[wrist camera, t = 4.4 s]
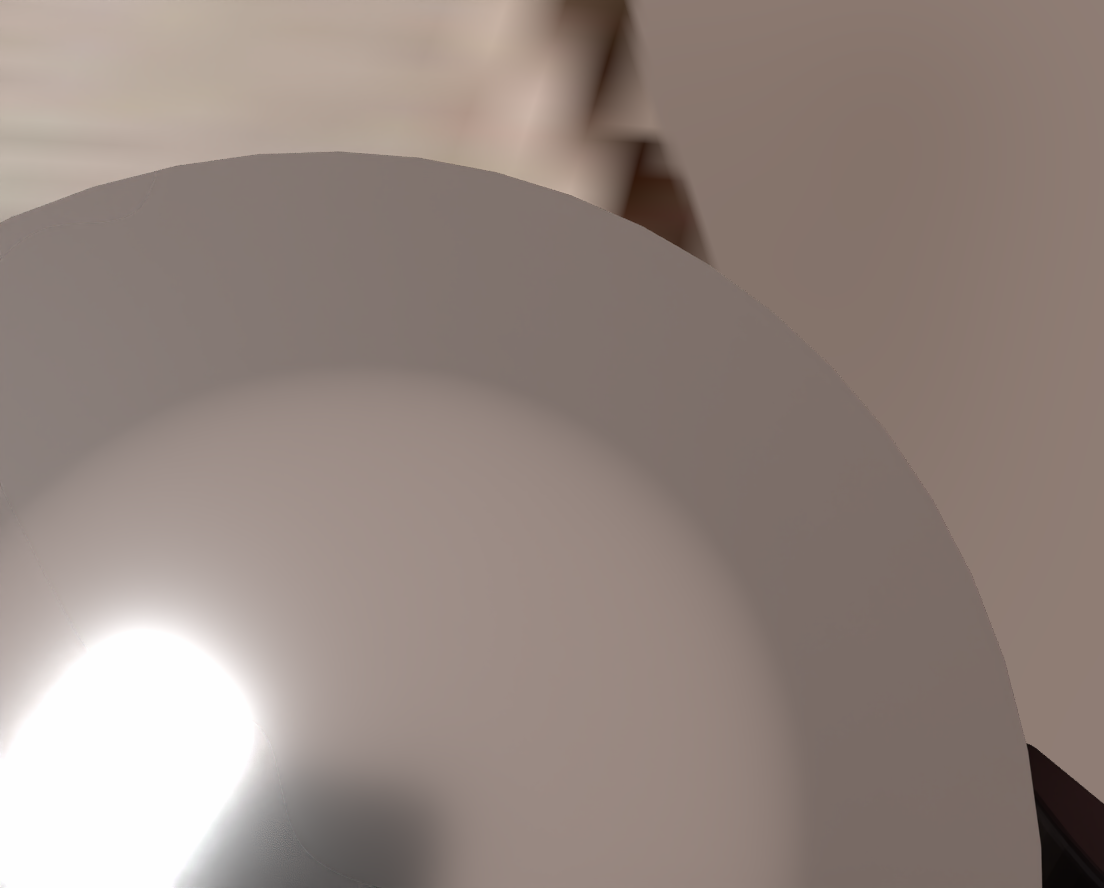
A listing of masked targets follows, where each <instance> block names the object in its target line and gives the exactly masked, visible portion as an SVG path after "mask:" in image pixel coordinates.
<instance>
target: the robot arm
mask: <svg viewBox="0 0 1104 888" xmlns="http://www.w3.org/2000/svg"><path fill="white" fill-rule="evenodd" d="M1026 745H1027V749H1028V755H1029V763H1030V770H1031V777H1032V784H1033V792H1034V799H1035V806H1036V813H1037V821H1038V828H1039V835H1040V842H1041V863H1042V888H1104V804H1103V803H1102V802H1101V801H1099V800H1098V799H1097V798H1096V797H1095V796H1094V795H1092V794H1091V793H1090V792H1088V791H1087V790H1086V789H1085V788H1084V787H1083V786H1081V785H1080V784H1079V783H1078V782H1077V781H1075V780H1074V779H1073V778H1072V777H1070V776H1069V775H1068V774H1067V773H1066V772H1064V771H1063V770H1062V769H1061V768H1060V767H1058V766H1057V765H1056V764H1054V763H1053V762H1052V761H1051V760H1050V759H1048V758H1047V757H1046V756H1045V755H1043V754H1042V753H1041V752H1040V751H1039V750H1038V749H1036V748H1035V747H1033V746H1032V745H1030V744H1027V743H1026Z"/></svg>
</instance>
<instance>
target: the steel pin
mask: <svg viewBox="0 0 1104 888" xmlns="http://www.w3.org/2000/svg"><path fill="white" fill-rule="evenodd" d="M0 888H1042V863H1041V842H1040V835H1039V828H1038V821H1037V813H1036V806H1035V799H1034V792H1033V784H1032V777H1031V770H1030V763H1029V755H1028V749H1027V745H1026V741H1025V738H1024V734H1023V730H1022V726H1021V722H1020V718H1019V714H1018V710H1017V707H1016V703H1015V699H1014V695H1013V691H1012V687H1011V683H1010V679H1009V675H1008V671H1007V667H1006V664H1005V660H1004V657H1003V655H1002V652H1001V649H1000V647H999V644H998V642H997V639H996V636H995V634H994V631H993V628H992V626H991V623H990V621H989V618H988V615H987V613H986V610H985V607H984V605H983V602H982V600H981V597H980V594H979V592H978V589H977V587H976V584H975V581H974V579H973V576H972V574H971V572H970V570H969V568H968V566H967V565H966V563H965V561H964V559H963V557H962V555H961V553H960V551H959V549H958V547H957V545H956V543H955V542H954V540H953V538H952V536H951V534H950V532H949V530H948V528H947V526H946V524H945V522H944V520H943V518H942V516H941V514H940V513H939V511H938V509H937V507H936V505H935V503H934V501H933V499H932V498H931V496H930V495H929V493H928V492H927V490H926V489H925V487H924V486H923V484H922V483H921V481H920V480H919V478H918V477H917V475H916V474H915V472H914V471H913V469H912V468H911V467H910V465H909V463H908V462H907V460H906V459H905V458H904V456H903V455H902V453H901V452H900V450H899V449H898V447H897V446H896V444H895V443H894V441H893V440H892V438H891V437H890V435H889V434H888V432H887V431H886V429H885V428H884V427H883V426H882V425H881V424H880V422H879V421H878V420H877V419H876V418H875V416H874V415H872V413H871V412H870V411H869V409H868V408H867V407H866V406H865V405H864V404H863V402H862V401H861V400H860V399H859V398H858V397H857V395H856V394H855V393H854V392H853V391H852V390H851V389H850V387H849V386H848V385H847V384H846V383H845V381H844V380H843V379H842V378H841V377H840V375H839V374H838V373H837V372H836V371H835V370H834V368H833V367H832V366H831V365H830V364H829V363H827V362H826V361H825V360H824V359H823V358H822V357H821V356H820V355H819V354H818V353H817V352H815V350H813V349H812V348H811V347H810V346H809V345H808V344H807V343H806V342H805V341H804V340H803V339H802V338H800V336H798V335H797V334H796V333H795V332H794V331H793V330H792V329H791V328H790V327H789V326H788V325H787V324H785V323H784V322H783V321H782V320H781V319H780V318H779V317H778V316H777V315H776V314H775V313H774V312H772V311H771V310H769V309H768V308H767V307H766V306H764V305H763V304H761V303H760V302H759V301H758V300H756V299H755V298H754V297H752V296H751V295H749V294H748V293H747V292H745V291H744V290H743V289H741V288H740V287H739V286H737V285H736V284H734V283H733V282H732V281H730V280H729V279H728V278H726V277H725V276H724V275H722V274H721V273H720V272H718V271H717V270H716V269H714V268H713V267H712V266H710V265H709V264H707V263H705V262H703V261H702V260H700V259H698V258H696V257H695V256H693V255H691V254H689V253H688V252H686V251H684V250H682V249H681V248H679V247H677V246H676V245H674V244H672V243H670V242H669V241H667V240H665V239H663V238H662V237H660V236H658V235H656V234H655V233H653V232H651V231H650V230H648V229H646V228H644V227H643V226H640V225H638V224H636V223H633V222H631V221H629V220H627V219H624V218H622V217H620V216H617V215H615V214H613V213H610V212H608V211H606V210H604V209H601V208H599V207H597V206H594V205H592V204H590V203H587V202H585V201H583V200H581V199H578V198H576V197H574V196H571V195H568V194H565V193H562V192H559V191H555V190H552V189H549V188H546V187H542V186H539V185H536V184H533V183H529V182H526V181H523V180H519V179H516V178H513V177H510V176H506V175H503V174H500V173H497V172H492V171H486V170H481V169H476V168H470V167H465V166H460V165H455V164H449V163H444V162H439V161H433V160H428V159H423V158H416V157H402V156H389V155H376V154H363V153H350V152H314V153H283V154H257V155H250V156H243V157H236V158H229V159H222V160H215V161H208V162H201V163H194V164H187V165H180V166H174V167H170V168H166V169H162V170H158V171H154V172H151V173H147V174H143V175H139V176H135V177H131V178H127V179H123V180H119V181H115V182H111V183H107V184H103V185H99V186H95V187H92V188H89V189H87V190H84V191H81V192H79V193H76V194H73V195H70V196H68V197H65V198H62V199H60V200H57V201H54V202H52V203H49V204H46V205H44V206H41V207H38V208H35V209H33V210H30V211H27V212H25V213H22V214H19V215H17V216H14V217H11V218H9V219H7V220H5V221H3V222H1V223H0Z"/></svg>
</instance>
